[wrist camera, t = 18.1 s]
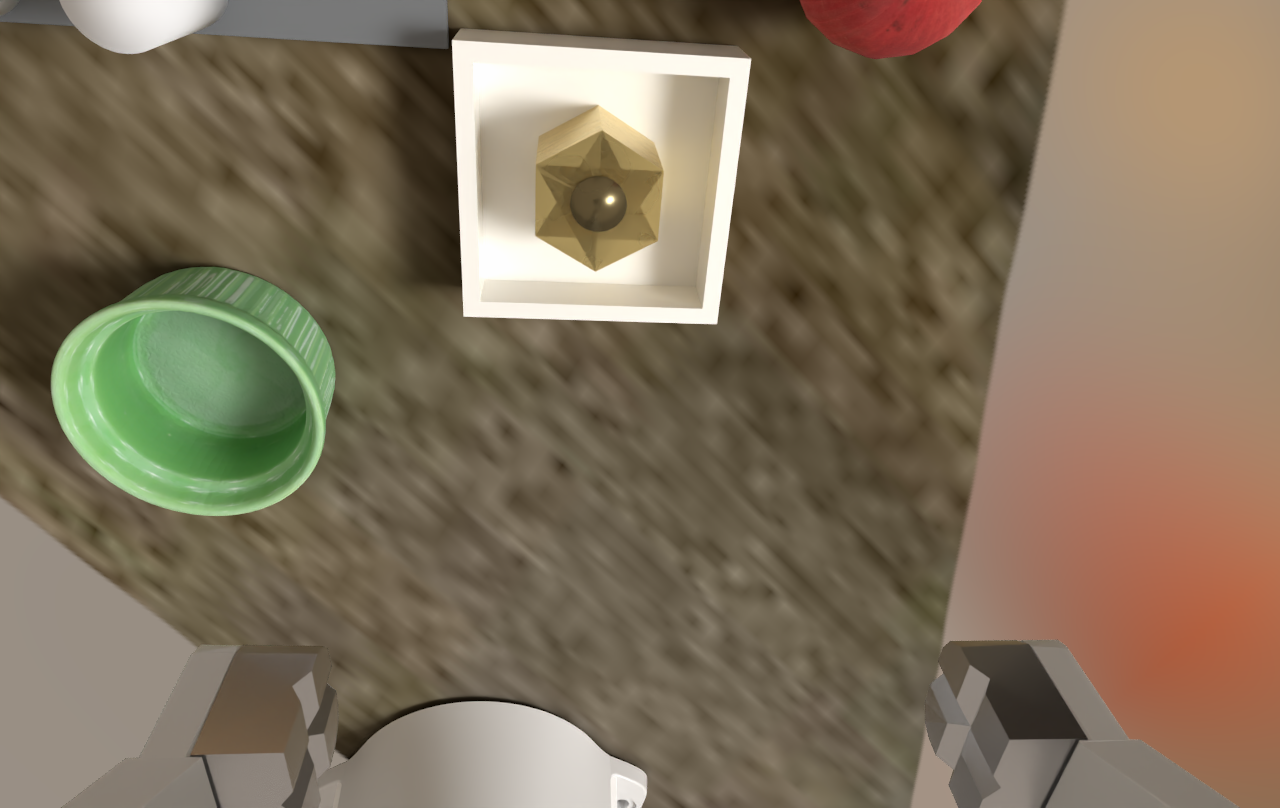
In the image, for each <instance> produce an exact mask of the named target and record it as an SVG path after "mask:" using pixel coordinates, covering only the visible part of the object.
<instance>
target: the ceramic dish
mask: <svg viewBox="0 0 1280 808" xmlns="http://www.w3.org/2000/svg"><path fill="white" fill-rule="evenodd" d="M452 54H453V78H454V101H455V124H456V148H457V171H458V194H459V218H460V241H461V265H462V288H463V311H464V316H465V317H498V318H531V319H563V320H596V321H628V322H661V323H693V324H717V319H718V311H719V304H720V296H721V288H722V280H723V273H724V265H725V257H726V250H727V242H728V234H729V226H730V219H731V211H732V203H733V196H734V188H735V180H736V172H737V165H738V157H739V149H740V141H741V134H742V126H743V118H744V111H745V103H746V95H747V87H748V80H749V72H750V64H751V58H750V57H749V56H748V55H747V54H745V53H744V52H743V51H742V50H741V49H740V48H739V47H738V46H730V45H714V44H699V43H683V42H668V41H652V40H636V39H621V38H605V37H590V36H574V35H559V34H543V33H527V32H512V31H496V30H481V29H465V28H461V29H460V30H459V31H458V33H457V34H456V35H455V37H454V38H453V39H452ZM597 105H599V106H601V107H602V108H604V109H605V110H607V111H608V112H610V113H611V114H613V115H614V116H616V117H617V118H619V119H620V120H622V121H623V122H625V123H626V124H627V125H629V126H630V127H632V128H633V129H635V130H636V131H638V132H639V133H641V134H642V135H644V136H645V137H647V138H648V139H650V140H651V141H653V142H654V144H655V147H656V149H657V152H658V155H659V158H660V161H661V164H662V167H663V170H664V176H663V187H662V199H661V211H660V222H659V234H658V241H657V242H655V243H653V244H651V245H649V246H647V247H645V248H643V249H641V250H639V251H637V252H635V253H633V254H631V255H629V256H627V257H625V258H622V259H620V260H618V261H616V262H614V263H612V264H610V265H608V266H606V267H604V268H602V269H600V270H598V271H596V272H595V271H593V270H592V269H590V268H588V267H587V266H585V265H583V264H582V263H580V262H578V261H576V260H575V259H573V258H571V257H570V256H568V255H566V254H565V253H563V252H561V251H560V250H558V249H556V248H554V247H553V246H551V245H549V244H548V243H546V242H544V241H543V240H541V239H539V238H538V237H536V236H535V189H536V157H537V148H538V139H539V136H540V135H542V134H544V133H546V132H548V131H550V130H552V129H554V128H555V127H557V126H559V125H561V124H563V123H565V122H567V121H569V120H571V119H573V118H574V117H576V116H578V115H580V114H582V113H584V112H586V111H588V110H590V109H591V108H593V107H595V106H597Z"/></svg>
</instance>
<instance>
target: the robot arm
mask: <svg viewBox="0 0 1280 808" xmlns="http://www.w3.org/2000/svg"><path fill="white" fill-rule="evenodd" d="M938 662H939V664H940V667H941V669H942V671H943V674H942V675H941V676H940V677H938V678H937V679H936V680H934V681H933V682H932V683H931V684H930V685H929V689H928V692H927V695H926V699H925V724H926V728H927V732H928V737H929V740H930V742H931V745H932V747H933V749H934V752H935V754H936V756H938V757H939V758H940V759H941V760H942V761H944V762H945V763H946V764H947V765H948V766H950V767H951V768H952V769H953V773H952V776H951V779H950V782H949V787H950V789H951V792H952V794H953V796H954V798H955V801H956V803H957V805H958V808H1240V807H1238V806H1237V805H1235V804H1234V803H1232V802H1231V801H1229V800H1228V799H1226V798H1225V797H1223V796H1222V795H1221V794H1219V793H1217V792H1216V791H1215V790H1213V789H1212V788H1210V787H1209V786H1207V785H1206V784H1204V783H1203V782H1201V781H1200V780H1198V779H1197V778H1195V777H1194V776H1193V775H1191V774H1190V773H1188V772H1187V771H1185V770H1184V769H1182V768H1181V767H1179V766H1178V765H1177V764H1175V763H1174V762H1172V761H1171V760H1169V759H1167V758H1166V757H1165V756H1163V755H1162V754H1160V753H1159V752H1157V751H1156V750H1154V749H1153V748H1152V747H1150V746H1149V745H1147V744H1146V743H1144V742H1143V741H1141V740H1129V738H1128V737H1127V735H1126V734H1125V732H1124V731H1123V729H1122V728H1121V727H1120V725H1119V723H1118V722H1117V721H1116V719H1115V718H1114V716H1113V715H1112V713H1111V712H1110V710H1109V709H1108V707H1107V706H1106V704H1105V703H1104V701H1103V700H1102V698H1101V697H1100V695H1099V694H1098V692H1097V691H1096V689H1095V688H1094V686H1093V685H1092V683H1091V682H1090V681H1089V679H1088V678H1087V676H1086V675H1085V673H1084V672H1083V670H1082V669H1081V667H1080V666H1079V664H1078V663H1077V661H1076V660H1075V659H1074V657H1073V655H1072V654H1071V652H1070V651H1069V650H1068V648H1067V647H1066V646H1065V645H1064V644H1063V643H1061V642H1060V641H1058V640H1022V641H1017V640H1001V641H1000V640H994V641H950V642H949V643H948V644H946V645H945V646H944V647H943V649H942V652H941V654H940V657H939V660H938ZM331 668H332V664H331V660H330V655H329V651H328V648H326V647H324V646H282V645H201V646H200V647H199V648H198V649H197V650H196V651H195V652H194V653H192V655H191V656H190V657H189V659H188V661H187V663H186V665H185V668H184V670H183V671H182V673H181V675H180V677H179V679H178V681H177V683H176V686H175V687H174V689H173V691H172V693H171V695H170V697H169V699H168V701H167V703H166V705H165V707H164V709H163V711H162V713H161V715H160V717H159V719H158V721H157V723H156V725H155V727H154V729H153V731H152V733H151V735H150V737H149V739H148V740H147V742H146V744H145V746H144V749H143V750H142V752H141V754H140V757H139V758H125V759H124V760H123V761H122V762H120V763H119V764H118V765H116V766H115V767H114V768H112V769H111V770H110V771H109V772H107V773H106V774H105V775H103V776H102V777H101V778H99V779H98V780H97V781H95V782H94V783H93V784H92V785H90V786H89V787H88V788H86V789H85V790H84V791H82V792H81V793H80V794H78V795H77V796H76V797H74V798H73V799H72V800H71V801H69V802H68V803H67V804H65V805H64V806H63V807H61V808H641V807H642V804H643V802H644V800H645V797H646V794H647V776H646V774H645V773H644V772H643V771H642V770H641V769H639V768H637V767H636V766H633V765H631V764H629V763H627V762H624V761H622V760H619V759H617V758H614V757H612V756H609V755H608V754H607V753H605V752H604V751H603V750H602V749H600V748H599V747H598V746H597V745H596V744H595V742H594V741H593V740H592V739H590V738H589V737H588V736H587V735H586V734H585V733H584V732H583V731H581V730H580V729H579V728H577V727H576V726H574V725H572V724H571V723H569V722H567V721H565V720H564V719H562V718H559V717H557V716H555V715H553V714H550V713H547V712H545V711H541V710H538V709H535V708H531V707H527V706H522V705H517V704H511V703H503V702H490V701H472V702H458V703H450V704H444V705H438V706H434V707H430V708H426V709H423V710H419V711H416V712H414V713H411V714H408V715H406V716H403V717H401V718H399V719H397V720H395V721H393V722H391V723H390V724H388V725H386V726H385V727H383V728H382V729H380V730H379V731H378V732H376V733H375V734H374V735H373V736H372V737H371V738H370V739H368V740H367V742H366V743H365V744H364V745H363V746H362V747H361V748H360V749H359V751H358V752H357V753H356V754H355V755H354V756H353V757H352V758H350V759H349V760H348V761H346V762H344V763H342V764H339V765H337V766H335V767H333V768H330V769H328V768H329V767H330V765H331V761H332V757H333V753H334V749H335V745H336V737H337V730H338V700H337V693H336V690H334V689H333V688H332V687H331V686H330V685H328V684H327V681H328V678H329V675H330V671H331ZM327 769H328V770H327Z"/></svg>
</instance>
